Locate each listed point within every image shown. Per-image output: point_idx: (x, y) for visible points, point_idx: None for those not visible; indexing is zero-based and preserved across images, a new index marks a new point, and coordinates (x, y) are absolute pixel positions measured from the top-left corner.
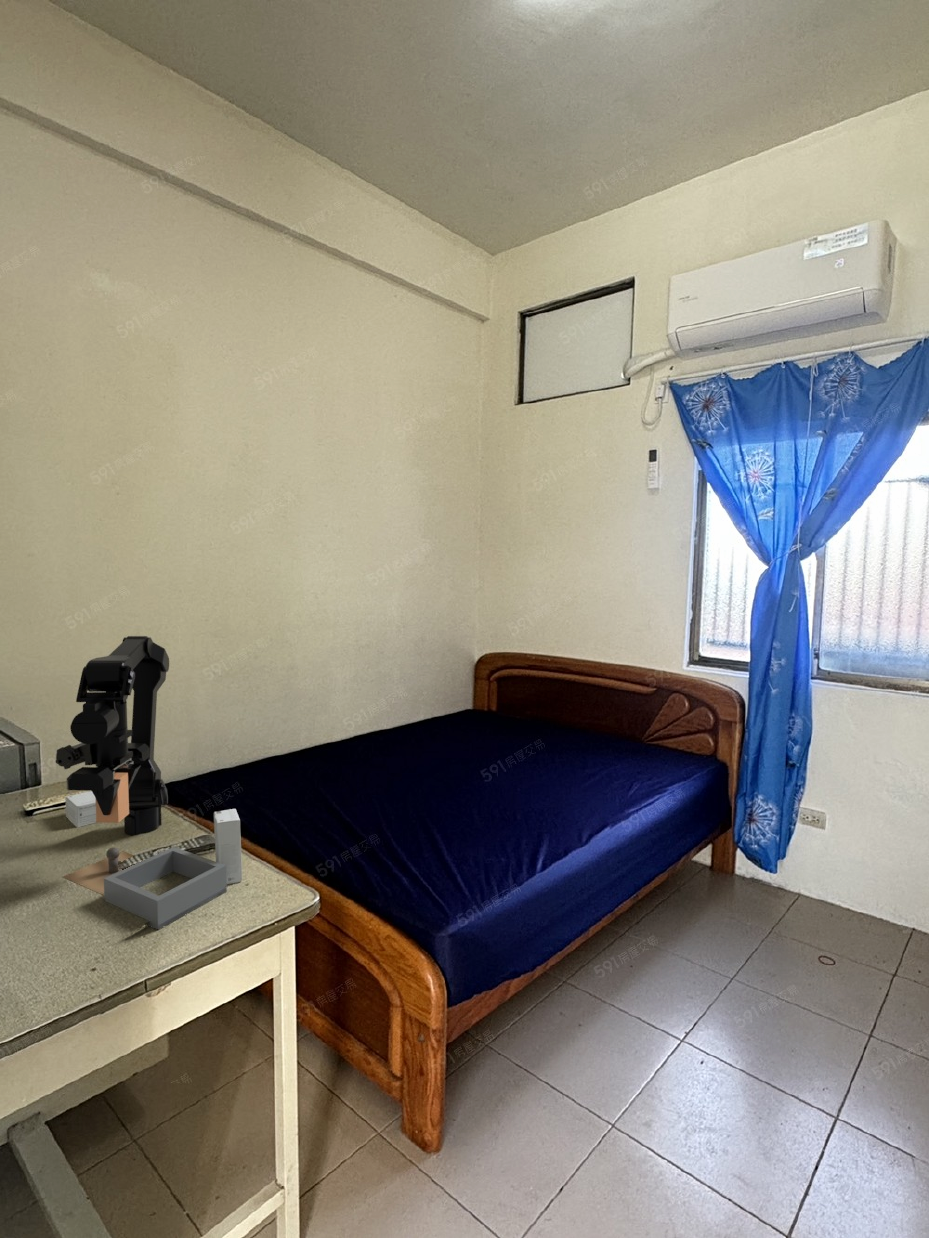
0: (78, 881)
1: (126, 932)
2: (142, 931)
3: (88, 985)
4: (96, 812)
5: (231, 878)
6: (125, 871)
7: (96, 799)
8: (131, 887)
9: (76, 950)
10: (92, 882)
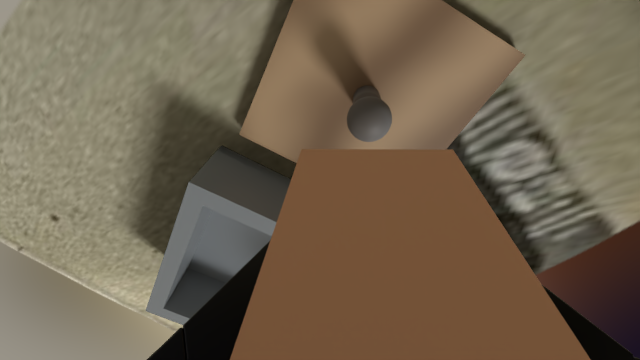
0: (296, 17)
1: (154, 223)
2: (165, 244)
3: (25, 226)
4: (290, 187)
5: None
6: (238, 217)
7: (174, 333)
8: (172, 256)
9: (75, 169)
10: (295, 69)
